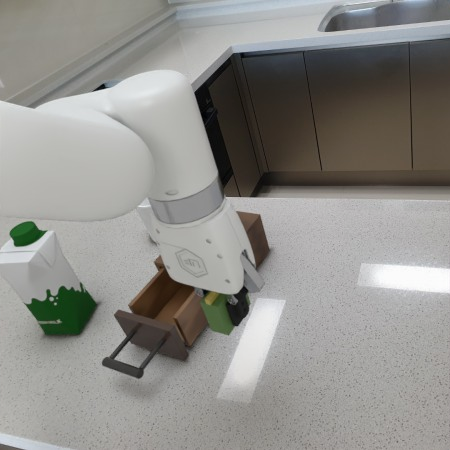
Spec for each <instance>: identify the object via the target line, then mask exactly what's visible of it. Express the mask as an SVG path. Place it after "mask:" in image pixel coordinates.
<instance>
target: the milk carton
mask: <svg viewBox="0 0 450 450" xmlns="http://www.w3.org/2000/svg"><path fill="white" fill-rule="evenodd" d="M8 233H9V236H10V238H9V239H8V240H7V241H6V242H5V243H4V244H3V246H2V247H1V248H0V277H1V279H3V280H4V281H5V282H6V283H7V284H8V285H9V286H10V288H11V289H12V290H13V292H15V294H16V295H17V297H18V298H19V300H21V301H22V303H23V304H24V305H25V307H26V308H27V309H28V311H29V312H30V313H31V315H32V316H33V317H34V318H35V320H36V322H37V323H38V325H39V327H40V328H41V330H42V332H43V333H44V335H45V336H56V335H57V336H62V335H63V336H64V335H66V336H67V335H81V333H82V331H83V330H84V328H85V326H86V325H87V323H88V322H89V320H90V318H91V317H92V315H93V313H94V311H95V310H96V308H97V307H98V303H97V302H96V300H95V299H94V298H93V296H92V295H91V294H90V293H89V291H88V290H87V289H86V287H85V286H84V284H83V283H82V281H81V280H80V278H79V276H78V275H77V273H76V272H75V270H74V268H73V267H72V266H71V264H70V262H69V261H68V259H67V257H66V256H65V254H64V252H63V250H62V247H61V245H60V241H59V239H58V236H57V233H56V231H55V230H48V229H47V230H45V229H44V230H42V229H39V227H38V225H37V224H36V223H35V221H32V220H27V221H24V222H21V223H18V224H17V225H15V226H14V227H13V228H11V229H10V231H9V232H8Z"/></svg>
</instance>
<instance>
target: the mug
mask: <svg viewBox="0 0 450 450" xmlns="http://www.w3.org/2000/svg"><path fill="white" fill-rule="evenodd" d="M151 209H152V208H151V205H150V203H149V201H148V198H147V197H146V199H145V200H144V201H143V202H142V203H141V204H140V205H139V206H138V207H137V208H135V211H136V212H137V214H138V217H139V218H140V219H141V221H142V223H143V225H144V227H145V229H146V230H147V232H148V233H147V234H149V235H150V236H149V237H150V239H151V240H152V242H154V243H156V240H155V237H154V233H153V229H152V223H151V216H150V211H151Z"/></svg>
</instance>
